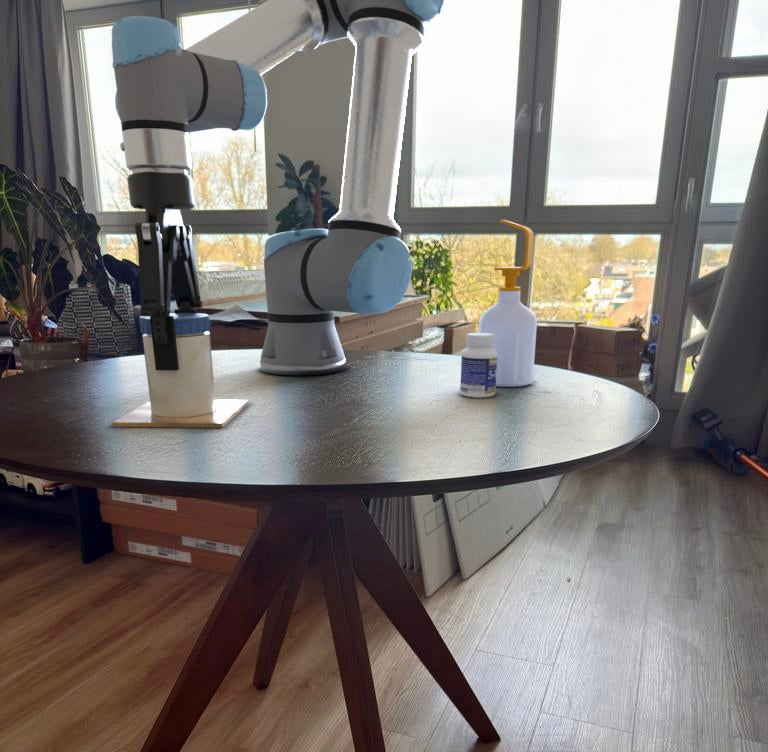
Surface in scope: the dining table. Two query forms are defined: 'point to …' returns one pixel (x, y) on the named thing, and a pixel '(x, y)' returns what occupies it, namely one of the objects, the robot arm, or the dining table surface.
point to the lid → (181, 323)
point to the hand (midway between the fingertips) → (179, 363)
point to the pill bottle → (478, 366)
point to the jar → (182, 378)
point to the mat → (210, 420)
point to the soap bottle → (512, 325)
